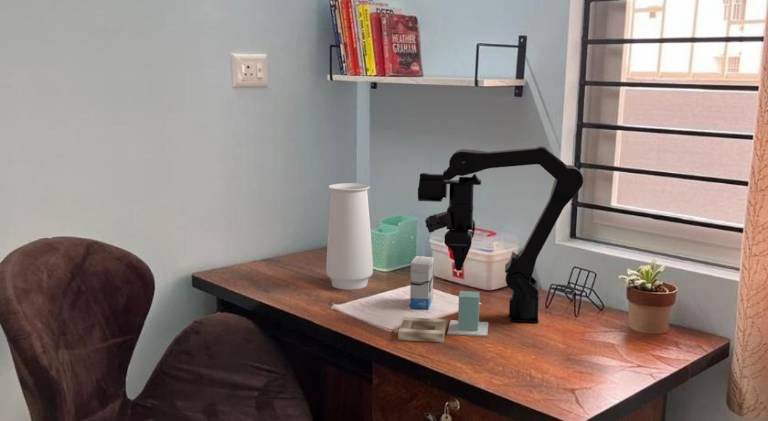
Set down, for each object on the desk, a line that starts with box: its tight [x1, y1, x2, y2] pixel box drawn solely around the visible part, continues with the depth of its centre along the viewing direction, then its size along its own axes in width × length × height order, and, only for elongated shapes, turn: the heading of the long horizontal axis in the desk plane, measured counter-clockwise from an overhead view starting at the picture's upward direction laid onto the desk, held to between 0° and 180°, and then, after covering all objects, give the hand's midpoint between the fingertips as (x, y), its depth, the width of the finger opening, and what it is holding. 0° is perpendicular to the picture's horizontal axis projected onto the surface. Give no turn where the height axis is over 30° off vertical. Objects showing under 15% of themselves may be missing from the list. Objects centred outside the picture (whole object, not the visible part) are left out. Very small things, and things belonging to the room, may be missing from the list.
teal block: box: [457, 290, 481, 331], centre depth 175 cm, size 4×4×8 cm
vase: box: [325, 182, 374, 291], centre depth 209 cm, size 13×13×28 cm
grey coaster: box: [446, 319, 489, 338], centre depth 175 cm, size 9×9×1 cm
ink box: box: [409, 255, 434, 310], centre depth 193 cm, size 8×5×12 cm, turn 168°
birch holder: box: [397, 316, 448, 344], centre depth 172 cm, size 10×10×2 cm
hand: (459, 265), depth 183 cm, fingers open, 9 cm apart
